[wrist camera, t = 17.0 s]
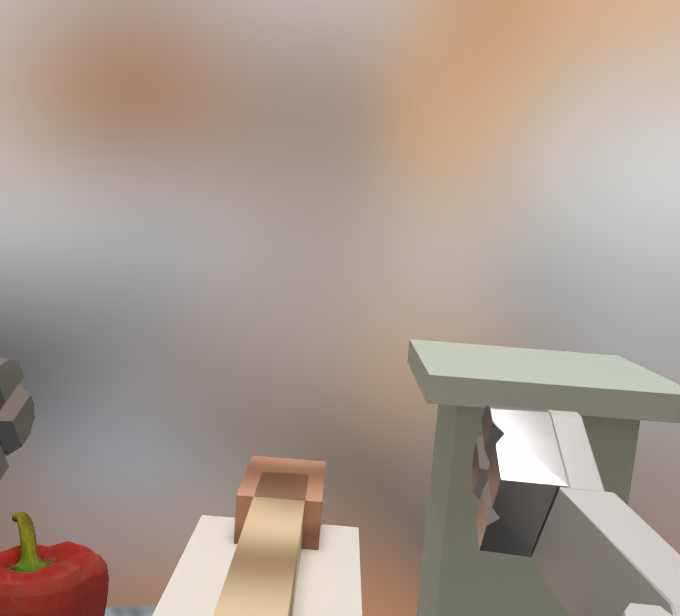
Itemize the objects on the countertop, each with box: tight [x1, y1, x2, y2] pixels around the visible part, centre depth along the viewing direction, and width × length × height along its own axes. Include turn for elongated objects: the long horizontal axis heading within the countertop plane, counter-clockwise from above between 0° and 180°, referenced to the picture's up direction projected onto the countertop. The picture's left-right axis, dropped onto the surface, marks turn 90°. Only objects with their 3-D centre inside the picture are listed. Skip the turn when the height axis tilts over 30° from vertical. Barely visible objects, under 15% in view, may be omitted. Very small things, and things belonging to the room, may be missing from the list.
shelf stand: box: [408, 339, 680, 616], centre depth 39 cm, size 14×16×26 cm
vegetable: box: [0, 512, 109, 616], centre depth 44 cm, size 11×10×10 cm
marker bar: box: [213, 456, 326, 616], centre depth 24 cm, size 20×4×2 cm, turn 0°
